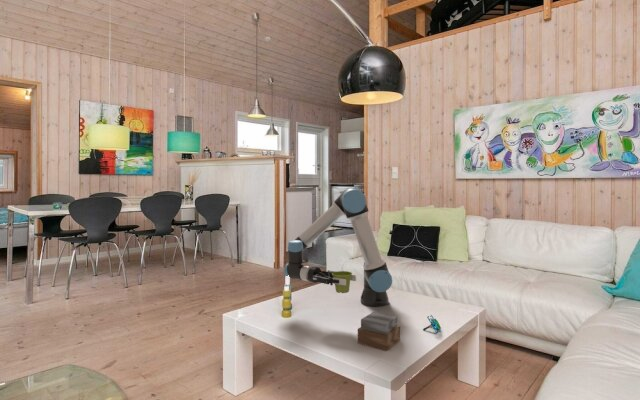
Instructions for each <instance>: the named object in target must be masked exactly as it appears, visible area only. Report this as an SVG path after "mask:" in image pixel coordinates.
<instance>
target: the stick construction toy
mask: <svg viewBox="0 0 640 400" xmlns="http://www.w3.org/2000/svg"><path fill="white" fill-rule="evenodd" d="M426 318H427V320H428V321H429V323H430V324H428V326H426V327H424V328H422V330H423V331H425V330H428V329H432V328H433V331H434V332H435V334H438V333H441V332H442V331H441V329H440V328H441V325H440V323H439V321H438V320H437V319H436V318H434V316H433V315H432V314H430V316H429V315H428V316H427V317H426Z"/></svg>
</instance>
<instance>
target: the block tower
mask: <svg viewBox="0 0 640 400" xmlns="http://www.w3.org/2000/svg"><path fill="white" fill-rule="evenodd" d="M400 341H401V325H398V316H395V315H391V314H386V313H380V312H376V311H372V312H371V313H369V314H367V315H366V316H364V317H362V318H361V319H360V327H358V328H357V344H359V345H362V346H365V347H370V348H374V349H378V350H380V351H381V350H382V351H384V352H387V351H389V350H390V349H391V348H392V347H393V346H395V345H396V344H397V343H398V342H400Z"/></svg>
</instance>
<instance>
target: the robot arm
mask: <svg viewBox="0 0 640 400" xmlns="http://www.w3.org/2000/svg"><path fill="white" fill-rule="evenodd" d="M368 213H369V208H368V205H367V198H366V195H365V194H364V192H363V191H362V190H360V189H359V188H355V187H349V188H346V189H344V190H343V191H342V192H341V193H340V195H338V196H337V198H335V200H334V201H333V202H332V205H331V206H330V207H329V208H328V209H327V210H326V211H324V212H323V213H322V214H321V215H320V216H319V217H318V218H317V219H316V220H315V221H313V223H311V224H310V225H309V226H308V227H307V228H305V230H304V231H302V233H300V235H298V236H297V237H296V238H295V239H294V240H290V241H288V243H287V255H288V256H287V257H288V258H287V259H288V260H287V262H288V263H286V264H285V265H284V269H283V275H284V276H285V277H286V276H288V275H289V277H290V278H289V279H291V280H298V281H305V282H306V283H308V282H310V283H314V284H316V283H321V284H324V285H330V286H334V285H335V284H339V285H345V286H346V279H341V278H335V277H334V278H333V275H332V273H333V272H337V271H338V270H337V271H335V270H327V271H326V270H321V268H320V267H318V266H311V265H306V264H305V265H304V251H305V250H306V249H308V247H309V246H311V244H312V243H314V242H315V241H316V240H317V239H318V238H319V237H320V236H321V235H322V234H324V233H325V232H326V231H327V230H328V229H329V228H330V227H331V226H333V224H334V223H336V222H337V221H338V220H339V219H340V218H341V217H342V216H345V217H346V219H348V220H349V221H350V223H351V226H352V229H353V231H354V234H355V238H356V241H357V243H358V246H359V250H360V252H361V255H362V259H363V290H362V293H361V295H360V303H361V304H362V305H365V306H369V307H383V306H386V305H389V302H390V301H389V297H388V290H389V289H391V287H392V285H393V277H392V275H391V273H390V271H389V268H388V266H387V265H388V264H387V262H386V261H385V260H384V259H382V256H381V254H380V250H379V247H378V245H377V242H376V238H375V236H374V232H373V229H372V225H371V223H370V220H369V218H368ZM351 281H352V282H357V275H356V274H352V275H351V278H350V282H351ZM333 284H334V285H333Z"/></svg>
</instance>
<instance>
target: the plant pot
mask: <svg viewBox="0 0 640 400" xmlns="http://www.w3.org/2000/svg"><path fill="white" fill-rule="evenodd" d="M332 275H333V278H334V277H335V278H341V279H346V286H345V285H339V284H334V287H335V293H338V294H340V293H341V294H346V293H349V291H350V285H351V280H350V278H351V275H353V273H352V272H351V271H345V270H337V272H333V273H332Z"/></svg>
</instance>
